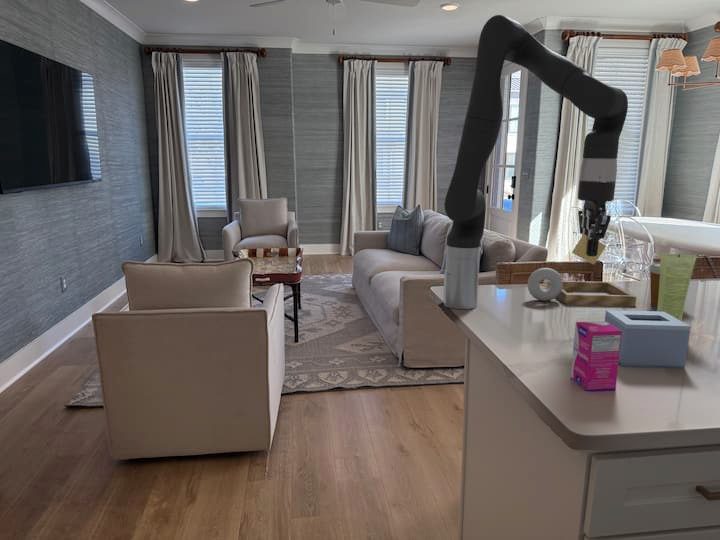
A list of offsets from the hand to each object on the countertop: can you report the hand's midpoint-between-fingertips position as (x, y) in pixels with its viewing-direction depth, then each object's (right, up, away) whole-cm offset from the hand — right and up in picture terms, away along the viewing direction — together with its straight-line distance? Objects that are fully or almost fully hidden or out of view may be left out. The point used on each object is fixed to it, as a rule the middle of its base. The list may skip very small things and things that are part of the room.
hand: (589, 254), depth 119 cm
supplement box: (-11, -25, -26) cm, 38 cm away
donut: (+1, -13, +32) cm, 35 cm away
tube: (+20, -19, +3) cm, 28 cm away
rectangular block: (-1, -1, 0) cm, 2 cm away
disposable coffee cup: (+33, -14, +27) cm, 45 cm away
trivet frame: (+16, -12, +36) cm, 41 cm away
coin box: (+5, -22, -13) cm, 26 cm away
